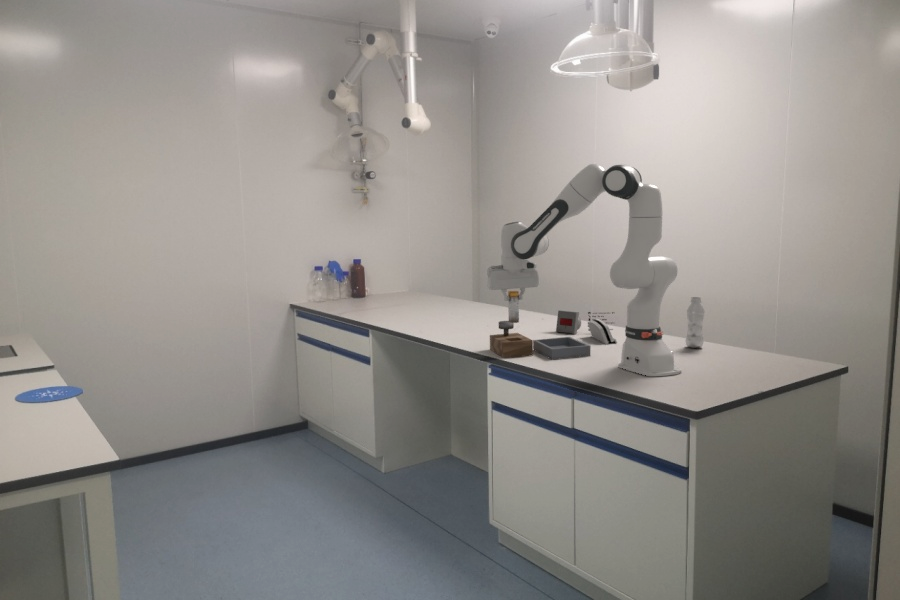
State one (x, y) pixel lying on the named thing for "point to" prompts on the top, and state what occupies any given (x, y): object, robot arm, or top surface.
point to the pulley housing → (510, 342)
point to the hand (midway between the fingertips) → (513, 300)
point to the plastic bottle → (695, 323)
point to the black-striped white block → (601, 331)
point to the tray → (561, 347)
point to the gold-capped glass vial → (513, 306)
